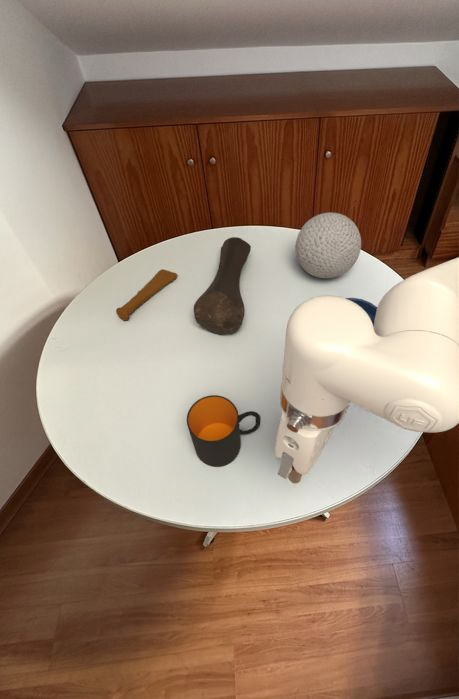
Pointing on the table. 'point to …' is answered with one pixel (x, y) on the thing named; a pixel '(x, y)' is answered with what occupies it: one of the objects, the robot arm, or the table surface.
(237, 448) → the mug
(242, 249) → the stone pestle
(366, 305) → the bowl
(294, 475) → the stick
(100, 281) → the table surface
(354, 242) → the decorative ball
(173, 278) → the primitive tool
